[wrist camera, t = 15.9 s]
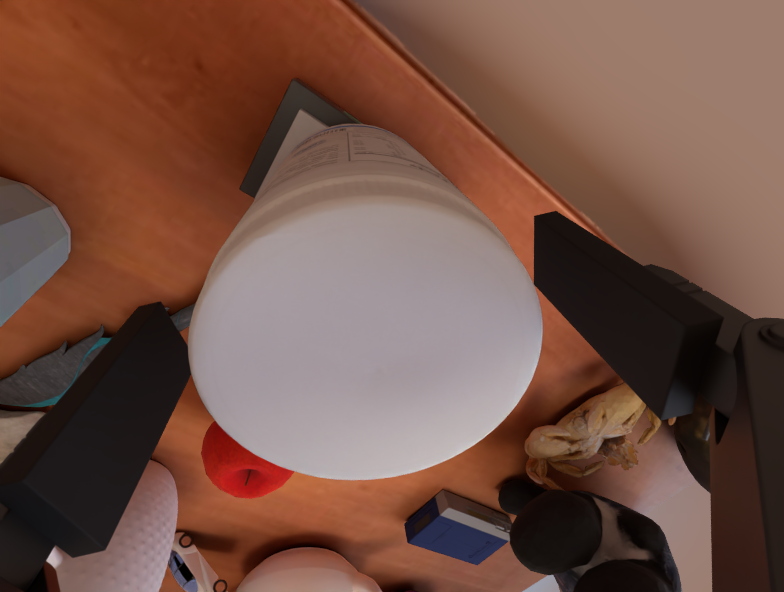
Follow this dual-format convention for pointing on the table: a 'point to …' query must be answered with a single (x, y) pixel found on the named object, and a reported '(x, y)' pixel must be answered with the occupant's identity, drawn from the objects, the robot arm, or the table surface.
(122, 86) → the table surface
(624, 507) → the toy
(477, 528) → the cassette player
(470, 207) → the supplement tub
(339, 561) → the teapot
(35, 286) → the disposable coffee cup
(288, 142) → the scale
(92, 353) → the knife
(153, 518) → the mug
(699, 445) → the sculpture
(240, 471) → the apple
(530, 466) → the crab model
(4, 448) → the arrowhead
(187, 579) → the toy car
